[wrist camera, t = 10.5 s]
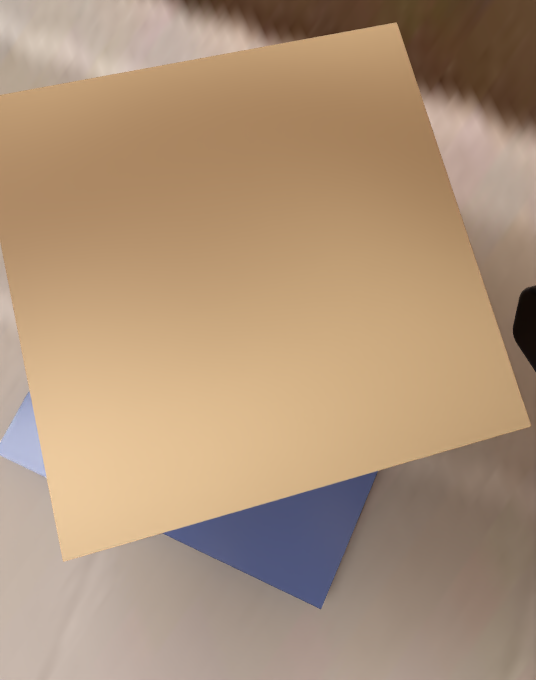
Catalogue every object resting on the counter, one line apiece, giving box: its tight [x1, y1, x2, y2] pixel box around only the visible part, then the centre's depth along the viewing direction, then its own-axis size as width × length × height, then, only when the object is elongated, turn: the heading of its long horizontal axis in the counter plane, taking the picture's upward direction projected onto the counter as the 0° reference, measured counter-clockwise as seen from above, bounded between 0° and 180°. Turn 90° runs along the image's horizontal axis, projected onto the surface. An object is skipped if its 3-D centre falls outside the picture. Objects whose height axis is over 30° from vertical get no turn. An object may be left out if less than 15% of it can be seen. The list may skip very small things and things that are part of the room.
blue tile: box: [0, 390, 378, 609], centre depth 17 cm, size 12×12×1 cm
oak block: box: [0, 23, 531, 562], centre depth 11 cm, size 5×5×12 cm
